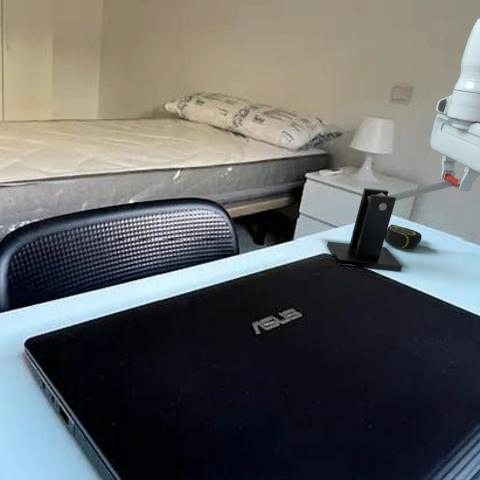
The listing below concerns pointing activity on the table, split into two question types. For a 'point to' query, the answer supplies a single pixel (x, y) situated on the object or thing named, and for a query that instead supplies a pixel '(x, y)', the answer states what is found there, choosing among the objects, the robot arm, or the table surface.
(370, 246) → the bracket
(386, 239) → the tape measure
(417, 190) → the lever
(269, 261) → the table surface
